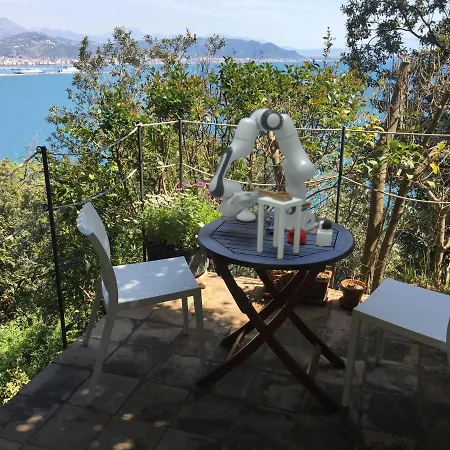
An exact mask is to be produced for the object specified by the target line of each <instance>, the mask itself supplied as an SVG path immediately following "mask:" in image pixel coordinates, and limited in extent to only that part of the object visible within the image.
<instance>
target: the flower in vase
mask: <svg viewBox="0 0 450 450" xmlns="http://www.w3.org/2000/svg"><path fill="white" fill-rule="evenodd" d="M246 181H247V183H248V184H247V186H246V189H245V190H244V191H245V192H247V190H248V187H249V186H250V187H251V188H252V190H253V189H254V188H255V186H254V185H253V182H252V180H251V179H250V178H249V177H246ZM249 208H250V207H249ZM249 208H247V209H245V210H243V211H240V212H239V213H237V214H236V219H237V220H239V221H242V222H252V221H255V220H256V219H257V216H256V215H255V214H254V213H253V212H251V211H250V209H249Z"/></svg>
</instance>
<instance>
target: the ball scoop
mask: <svg viewBox="0 0 450 450" xmlns="http://www.w3.org/2000/svg"><path fill="white" fill-rule="evenodd" d="M264 189H265V188H259V187H254V189H253V188H252V191H253V192H254V191H256V190H259V191H260V194H258V195H262V196H266V197H270V198H273V200H277V201H281V202H286V201H290V200H292V199H293V194H291V193H287V192H286V191H277V192H276V191H272V190H268V189H267V190H264Z"/></svg>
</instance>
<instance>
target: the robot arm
mask: <svg viewBox="0 0 450 450" xmlns="http://www.w3.org/2000/svg"><path fill="white" fill-rule="evenodd" d="M260 131H261V132H267V131H268V132H273V133H274V137H275V139H276V141H277V144H278V147H279V149H280V152H281V154H282V155H283V157H284V159H283V160H282V162H281V163H282V164H281V167H282V171H283V173H284V179H285V186H286V189H285V190H286V191H285V192H287V193H291V194H293V198H298V199H302V200H303V204H302V209H301V225H300V227H302V228H300V229H304V231H305V232H308V231H311V230H312V229H314V228H316V227H317V226H318V227H319V222H318V221H315V220H316V219H315V217H316V216H315V214H314V213H313V212H312V211H310V210H309V208H308V207H310V206H312V205H311V204H312V203H311V202H307V194H308V189H307V185H306V182H305V181H308V180H311V179H312V178H313V177H314V175H315V174H316V167H315V165H314V164H313V162H312V161H311V159H310V158H309V156H308V153H307V152H306V151H305V149H304V147H303V145H302V143H301V140H300V137H299V135H298V132H297V129H296V127H295V124H294V122H293V120H292V118H291V117H290V115H289V114H287V113H280V112H278V111H277V110H276V109H273V108H257V109H254V110H253V111H252V112H251V113H250V115H249V116H248V117H244V118H241V119H240V120H239V123H238V124H237V127H236V129H235V132H234V136H233V139H232V142H231V143H230V145H229V146H228V147H226V148H225V149H224V151H223V152H222V155H221V157H220V160H219V162H218V165H216V166H217V167H216V169H215V171H214V174H213V176H212V177H211V180H210V181H209V183H208V185H207V186H208V188H207V189H208V192H209V195H211V197H212V198H216V199H217V198H219V199H220V198H221V199H222V198H223V199H222V202H221V203H220V204H219V206H218V209H219V212H220V213H221V214H222V215H223V216H226V217H232V216H235V215H238V214H239V213H241V212H242V211H243V210H245V209H247V208H251V207H252V206H255V205H258V204H259V203H258V198H263V197H266V196H262V195H258V194H260V191H259V190H256V191H254V192H253V190H252V191H245V190H243V186H242V184H241V182H239V181H237V180H233V179H227V178H225V177H226V175H227V173H228V171H229V167H230V166H231V164H232V163H233V162H235V161H236V160H240V159H244V158H247V157H249V156H250V155H251V154H252V152H253V150H254V148H255V142H256V139H257V136H258V134H259V133H260ZM263 189H264V190H268V188H263ZM295 216H296V206H293V207H290V208H286V211H285V230H289V231H291V229H293V228H291V227H294V228H295Z"/></svg>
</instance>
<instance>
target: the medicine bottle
mask: <svg viewBox="0 0 450 450" xmlns="http://www.w3.org/2000/svg"><path fill="white" fill-rule="evenodd" d="M318 223H319V225H318V229H317V232H316V239H315V240H316V243H315V246H316V245H319V246H318V247H322V246H332V243H331V242H333V241H332V240H333V229H332V228H333V227H332V226H333V223H332V222H331V221H330V220H321V221H319V222H318Z"/></svg>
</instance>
